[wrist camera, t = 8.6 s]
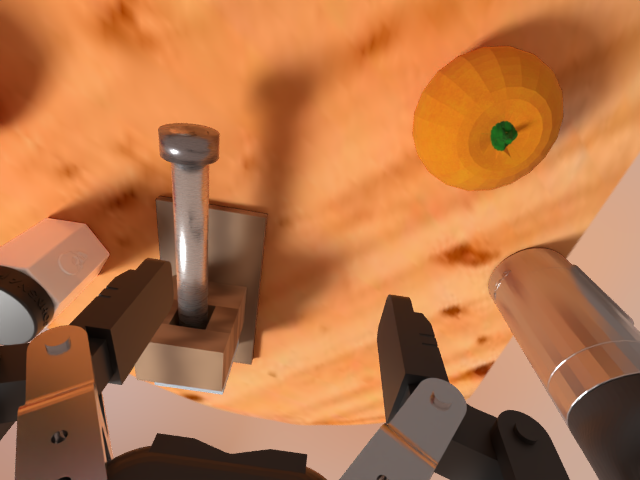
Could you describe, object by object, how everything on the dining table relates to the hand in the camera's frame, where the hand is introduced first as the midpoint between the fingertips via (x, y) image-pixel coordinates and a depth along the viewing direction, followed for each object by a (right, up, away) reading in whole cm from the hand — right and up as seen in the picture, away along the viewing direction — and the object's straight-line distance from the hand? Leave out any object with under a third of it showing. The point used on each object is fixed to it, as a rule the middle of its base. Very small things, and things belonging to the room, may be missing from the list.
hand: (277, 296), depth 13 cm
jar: (-29, +1, +30) cm, 42 cm away
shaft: (-11, +2, +23) cm, 26 cm away
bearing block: (-12, -5, +33) cm, 35 cm away
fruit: (+16, +14, +21) cm, 30 cm away
